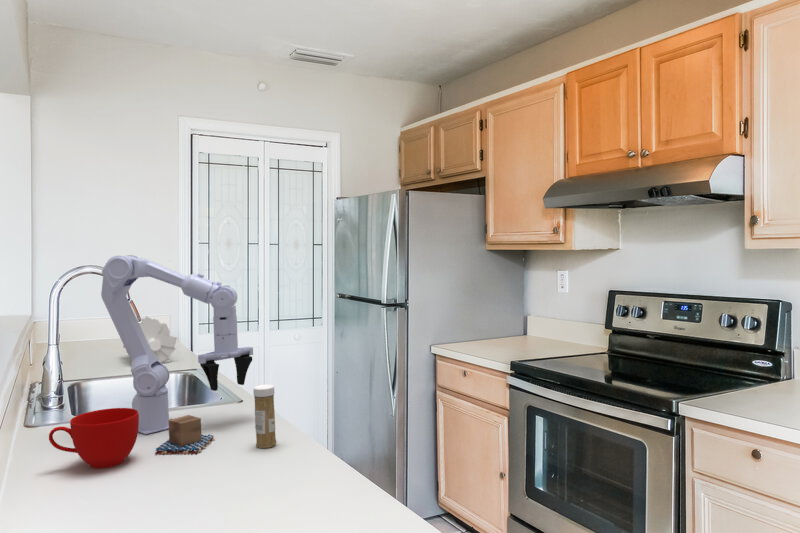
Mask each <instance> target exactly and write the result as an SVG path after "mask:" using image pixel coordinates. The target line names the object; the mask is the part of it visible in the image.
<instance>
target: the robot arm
mask: <svg viewBox="0 0 800 533" xmlns="http://www.w3.org/2000/svg"><path fill="white" fill-rule="evenodd" d="M101 273H102V283H101V293H100V296H101V299H102V302H103V305H104V306H105V308H106V309H107V312H108V314H109V316H110V318H111V320H112V323H113V325H114V327H115V329H116V331H117V333H118V336H119V338H120V340H121V342H122V344H124V347H125V348H124V349H125V352H126V353H127V355H128V358H129V359H130V363H131V365H130V366H131V367H130V372H131V374H132V378H133V380H132V381H133V382H132V383H133V384H132V386H133V389H134V390H135V392H136V394H135V395H134V397H133V398H132V401H131V409H135V410H137V411H138V413H139V426H138V433H140V434H143V435H149V434H153V433H157V432H161V431H165V430H169V420H170V416H169V414H170V413H169V412H170V410H169V392H168V391H169V389H168V387H167V386H166V385H167V383H168V382H169V380H170V371H169V368H168V367H167V366H166V365H164V364H163V363H162V361H161V362H160V360H159V358H158V357H157V356H156V355H155V354H154V353H153V352H152V351H151V348H150V346H149V344H148V342H147V340H146V338H145V336H144V333H143V331H142V329H141V327H140V325H139V323H138V320H137V319H138V318H137V316H136V314H135V312H134V310H133V308H132V305H131V304H130V301H129V299H128V297H127V295H128V293H129V291H130V289H131V287H132V285H133V284H134V283H135V282H136V281H137V280H138V279H139V278H148V277H149V278H153V279H156V280H158V281H161V282H163V283H167V284H170V285H173V286H175V287H178V288H180V289H181V291H182V293H183V295H185V296H186V297H189V298H191V299H195V300H197V301H199V302H202V303H205V304H208V305H209V304H210V305H211V307H212V309H213V316H212V319H213V320H212V321H213V343H214V347H213V348H214V349H213V350H214V351H210V352H206V353H204V354H203V353H202V354H198V355H197V361H198V364H199V365H200V368H202V371H203V373H204V374H205V376H206V378H207V381H208V384H209V388H210V391H213V392H216V391H218V389H219V382H218V375H219V374H218V373H219V369H220V368H219V367H220V364H219V363H217V362H216V361H222V360H223V361H224V360H228V359H234V365H235V370H236V382H237V385H241V386H244V385H245V383H246V382H245V381H246V376H247V373H248V370H249V368H250V365H251V363H252V362H253V355H254V347H252V346H247V347H239V343H238V339H239V338H238V316H237V308H236V307H237V306H236V305H235V304H236V303H237V301H238V293H237V291H236V290H235V289H234V288H232V287H231V286H230V285H222V282H221V281H216V282H215V281H213V280H210V279H209V278H206V277H204V274H202V273H197V274H196V273H192V274H190V275H184V274H182V273H180V272H178V271H176V270H173V269H171V268H169V267H167V266H164V265H162V264H160V263H157V262H155V261H153V260H150V259H146V258H143V257H138V256H137V255H132V254H130V255H114V256H111V257H110V258H109V259H108V260H107V262H106V263H105V265H104V266H103V268H102V269H101Z"/></svg>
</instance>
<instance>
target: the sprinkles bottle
mask: <svg viewBox="0 0 800 533" xmlns="http://www.w3.org/2000/svg"><path fill="white" fill-rule="evenodd" d="M274 396H275V385H272V384H260V385H256V386H254V387H253V397H254V422H255V423H254V424H255V426H254V427H255V438H256V443H255V446H256V448H259V449H269V448H273V447H275V446H276V445H277V441H276V439H277V438H276V417H275V416H276V415H275V397H274Z"/></svg>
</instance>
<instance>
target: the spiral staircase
mask: <svg viewBox="0 0 800 533" xmlns="http://www.w3.org/2000/svg"><path fill="white" fill-rule="evenodd" d="M141 319H142V322H141V323H139V325H140V327H141V329H142V331H143V333H144V336H145V338H146V340H147V342H148V344H149V346H150V348H151V351H152V352H153V353H154V354H155V355H156V356H157V357H158V358H159V360H160V362H161V363H162V362H164V361H166V360H169V357H170V355H172V353H173V352H174V351H175V350H176V348H175V346H176V343H177V340H178V339H177V338H178V337H175V336H170V335H171V334H170V333H171V331H170V328H169V326H168V325H167V323H164V322H163V323H161V322H160V320H158V319H155V318H151V317H148V316H147V315H146V316H145V317H144V318H141ZM122 344H123V343H122ZM122 348H124V349H125V347H124V344H123V346H122Z"/></svg>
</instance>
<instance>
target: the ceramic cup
mask: <svg viewBox="0 0 800 533" xmlns="http://www.w3.org/2000/svg"><path fill="white" fill-rule="evenodd" d="M69 423H70V424H69V425H70V428H69V427H67V426H56V427H54V428H52V430H50V432H49V433H48V441H49V443H50V444H51V445H52V447H53V448H55V449H57V450H59V451H63V452H68V453H74V454H75V453H76V454H77V455H78V456H79V457H80V459H82V461H83V462H85V463H86V464H87V465H88V466H89V467H90V468H92V469H108V468H112V467H116V466H119V465H120V464H122V463H124V462H125V460H126V458H127V457H128V456H129V455H130V453H131V452H132V450H133V449H134V446H135V444H136V442H137V439H138V433H139V432H138V426H139V413H138V411H137V410H135V409H132V407H114V408H105V409H104V408H103V409H97V410H93V411H92V410H91V411H87V412H84V413H81V414H78V415H75V416H74V417H73V418H70V421H69ZM59 431H64V432H66V433H67V434H68V435H69V437H70V439H71V440H72V444H73V447H66V446H63V445H60V444H59V443H57V442H56V440H54V433H55V432H59Z"/></svg>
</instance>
